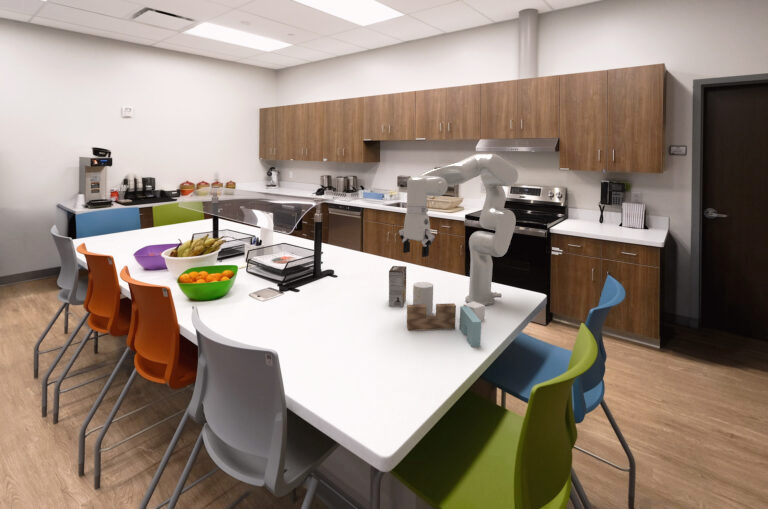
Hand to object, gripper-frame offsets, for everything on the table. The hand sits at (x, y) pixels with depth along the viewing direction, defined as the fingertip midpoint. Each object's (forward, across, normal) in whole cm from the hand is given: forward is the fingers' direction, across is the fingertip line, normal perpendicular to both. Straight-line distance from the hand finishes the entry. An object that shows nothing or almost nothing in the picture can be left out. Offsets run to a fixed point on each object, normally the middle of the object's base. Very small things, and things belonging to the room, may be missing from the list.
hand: (415, 254), depth 171 cm
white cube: (+27, -16, -17) cm, 36 cm away
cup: (+26, +2, -8) cm, 28 cm away
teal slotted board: (+26, -26, 0) cm, 37 cm away
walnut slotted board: (+26, -11, +3) cm, 29 cm away
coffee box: (+27, +18, -8) cm, 33 cm away
